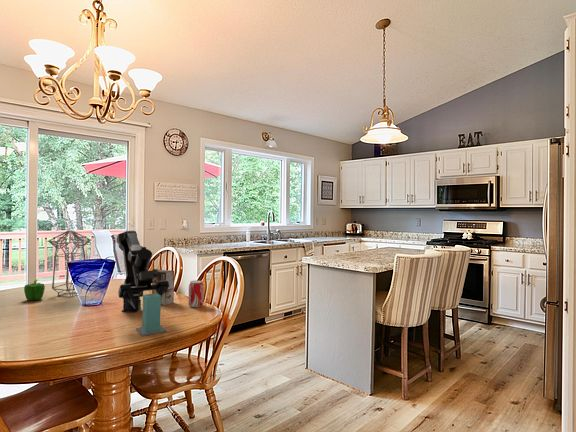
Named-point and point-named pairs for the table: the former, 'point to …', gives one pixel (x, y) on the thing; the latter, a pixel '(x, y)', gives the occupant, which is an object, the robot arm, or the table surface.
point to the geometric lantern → (67, 256)
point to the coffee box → (169, 295)
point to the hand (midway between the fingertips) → (147, 306)
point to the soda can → (196, 293)
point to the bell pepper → (34, 291)
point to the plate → (151, 331)
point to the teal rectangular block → (151, 312)
